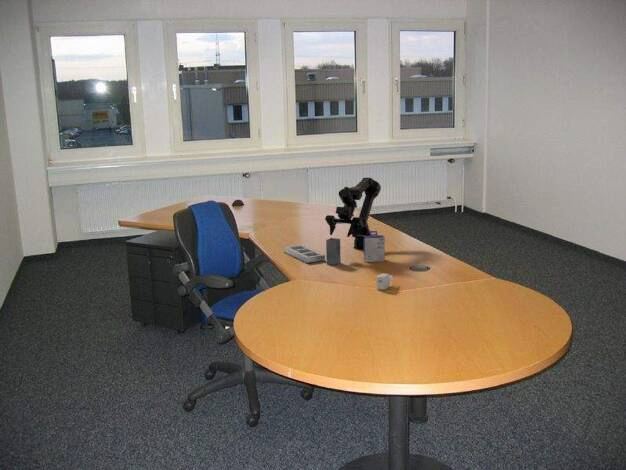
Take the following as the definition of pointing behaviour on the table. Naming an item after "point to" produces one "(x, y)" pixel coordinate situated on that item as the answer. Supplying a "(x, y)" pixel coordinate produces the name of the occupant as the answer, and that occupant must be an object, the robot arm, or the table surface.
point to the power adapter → (383, 281)
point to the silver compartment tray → (304, 254)
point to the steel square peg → (333, 251)
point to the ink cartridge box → (374, 247)
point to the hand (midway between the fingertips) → (339, 235)
